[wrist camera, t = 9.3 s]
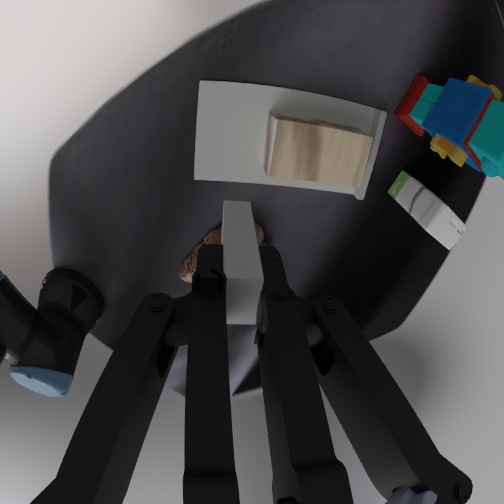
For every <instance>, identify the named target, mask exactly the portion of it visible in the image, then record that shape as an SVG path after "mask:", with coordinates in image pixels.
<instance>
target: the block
mask: <svg viewBox="0 0 504 504" xmlns="http://www.w3.org/2000/svg"><path fill="white" fill-rule="evenodd" d="M372 141H373V137H371V136H370V135H368V134H366V133H365V132H363V131H361V130H359V129H358V128H356V127H353V126H349V125H345V124H340V123H335V122H331V121H326V120H320V119H315V118H309V117H303V116H297V115H291V114H284V113H277V112H269V111H268V116H267V123H266V130H265V137H264V144H263V151H262V159H261V161H262V164H263V167H264V170H265V173H266V176H268V177H278V178H288V179H297V180H306V181H314V182H322V183H329V184H336V185H343V186H350V187H356V188H360V185H361V181H362V178H363V175H364V171H365V167H366V164H367V160H368V156H369V153H370V149H371V145H372Z"/></svg>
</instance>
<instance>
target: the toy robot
mask: <svg viewBox="0 0 504 504" xmlns="http://www.w3.org/2000/svg"><path fill="white" fill-rule="evenodd" d="M501 97H502V94H501V92H500V91H499V89H497V88H496V87H495V86H493V85H487V84H485V83H483V82H482V81H480V80H479V79H478V78H476V77H475V76H473V75H470V76H469V78H468V80H467V81H466V82H465V81H461V80H457V79H453V78H449V80H448V82H447V83H446V85H445V87H442V86H438V85H434V84H431V83H430V82H429V81H428V80H427V79H426V78H425V76H422V75H417V77H416V78H415V80H414V82H413V83H412V85H411V86H410V88H409V90H408V91H407V93H406V95H405V96H404V98H403V99H402V101H401V102H400V104H399V106H398V107H397V109H396V110H395V112H394V113H393V114H395V115H396V116H397V117H398V118H399V119H400V120H401V121H402V122H404V123H405V124H406V125H407V126H408V127H409V128H410V129H411V130H412V131H413V132H414V133H415V134H417V135H419V136H421V137H422V135H423V134H424V132H425V131H427V132H428V133H429V134H430V135H431V136H432V137H433V139H432V140H431V142H430V144H431V146H430V148H431V149H432V150H433V151H434V152H438V153H439V154H440V156H441V157H442V158H443V159H445V157H446V156H447V155H448V156H449V157H450V159H451V160H452V161H453V162H454V163H456V164H457V165H458V166H460V167H462V165H463V164H464V162H465V163H467V164H468V165H470V166H471V167H473V168H474V169H476V170H477V171H479V172H481V170H483V172H484V173H485V174H486V175H487V176H489V177H495V176H497V175H498V176H500V177H501V178H502V179H504V103H503V102H501V101H500V99H501Z"/></svg>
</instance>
